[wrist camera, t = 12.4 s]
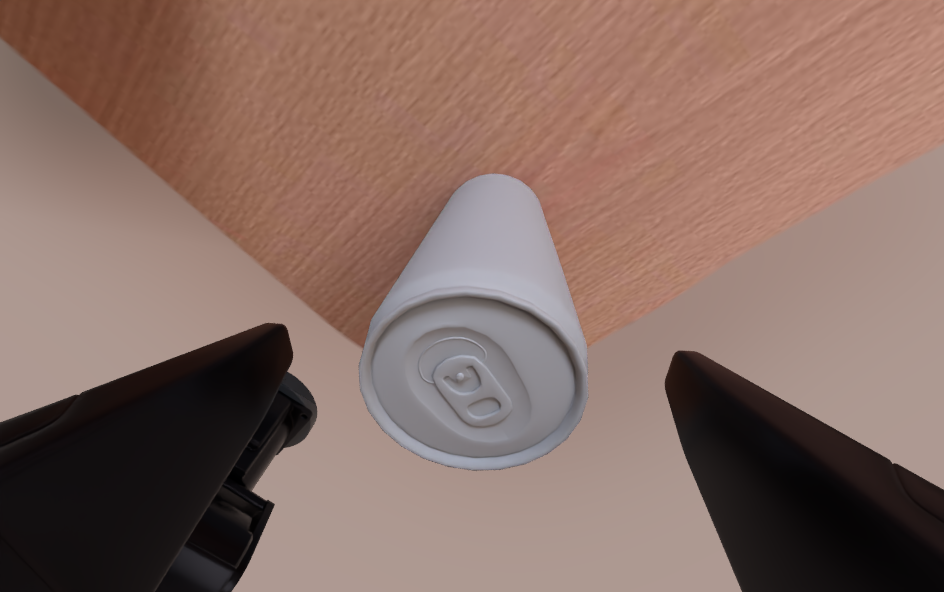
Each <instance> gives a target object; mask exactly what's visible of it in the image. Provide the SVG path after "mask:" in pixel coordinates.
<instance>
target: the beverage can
mask: <svg viewBox="0 0 944 592" xmlns="http://www.w3.org/2000/svg"><path fill="white" fill-rule="evenodd" d="M587 375H588V361H587V345H586V342H585V339H584V335H583V332H582V329H581V326H580V323H579V320H578V317H577V314H576V311H575V307H574V304H573V301H572V298H571V295H570V292H569V289H568V286H567V283H566V279H565V276H564V273H563V270H562V267H561V264H560V261H559V258H558V255H557V252H556V249H555V247H554V244H553V241H552V238H551V235H550V232H549V229H548V226H547V223H546V220H545V217H544V214H543V211H542V208H541V205H540V201H539V199H538V198H537V197H536V195H535V194H534V192H533V191H532V189H530V188H529V187H528V186H527V185H525V184H524V183H523V182H522V181H520V180H518V179H515V178H513V177H510V176H508V175H501V174H487V175H481V176H477V177H475V178H473V179H471V180H469V181H466V182H465V183H464V184H463V185H462V186H460V187H459V188H458V189H457V190H456V191H455V192H454V194H453V195H452V196H451V198H450V199H449V201H448V202H447V204H446V205H445V207H444V209H443V210H442V212H441V213H440V215H439V216H438V218H437V219H436V221H435V222H434V224H433V225H432V227H431V228H430V230H429V232H428V233H427V235H426V236H425V238H424V239H423V241H422V242H421V244H420V245H419V247H418V248H417V250H416V252H415V253H414V255H413V256H412V258H411V259H410V261H409V262H408V264H407V265H406V267H405V268H404V270H403V272H402V273H401V275H400V276H399V278H398V279H397V281H396V282H395V284H394V285H393V287H392V288H391V290H390V292H389V293H388V295H387V296H386V298H385V299H384V301H383V302H382V304H381V305H380V307H379V308H378V310H377V312H376V313H375V315H374V316H373V318H372V320H371V323H370V327H369V330H368V334H367V338H366V341H365V345H364V349H363V352H362V356H361V359H360V363H359V381H360V391H361V393H362V396H363V398H364V401H365V403H366V406H367V409H368V411H369V412H370V414H371V415H372V417H373V418H374V419H375V420H376V422H377V423H378V425H379V426H380V427H381V429H382V430H383V431H384V432H385V433H386V434H388V435H389V436H390V437H391V438H392V439H393V440H395V441H396V442H397V443H398V444H399V445H401V446H402V447H404V448H405V449H407V450H409V451H411V452H413V453H415V454H416V455H418V456H420V457H422V458H424V459H426V460H429V461H432V462H435V463H439V464H441V465H445V466H448V467H453V468H460V469H467V470H474V471H477V470H501V469H505V468H510V467H515V466H519V465H524V464H527V463H529V462H531V461H533V460H535V459H538V458H540V457H542V456H544V455H546V454H548V453H549V452H551V451H552V450H553V449H555V448H556V447H557V446H559V445H560V444H561V443H562V442H564V441H565V440H566V439H567V438H568V437H569V435H570V434H571V433H572V431H573V430H574V428H575V427H576V426H577V424H578V423H579V422H580V420H581V418H582V414H583V411H584V408H585V405H586V402H587V399H588V380H587V379H588V378H587Z"/></svg>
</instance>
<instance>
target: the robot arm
mask: <svg viewBox="0 0 944 592" xmlns="http://www.w3.org/2000/svg"><path fill="white" fill-rule="evenodd" d="M292 360H293V351H292V346H291V343H290V338H289V334H288V330H287V328H286V326H285V325H283V324H275V323H265V324H262V325H260V326H257V327H254V328H252V329H249V330H247V331H244V332H241V333H238V334H236V335H233V336H230V337H228V338H225V339H223V340H220V341H217V342H215V343H212V344H209V345H207V346H204V347H201V348H199V349H196V350H193V351H191V352H188V353H185V354H183V355H180V356H177V357H175V358H172V359H169V360H167V361H164V362H161V363H159V364H156V365H153V366H151V367H148V368H146V369H143V370H140V371H137V372H135V373H132V374H129V375H127V376H124V377H122V378H119V379H116V380H114V381H111V382H109V383H106V384H103V385H100V386H98V387H95V388H92V389H90V390H87V391H84V392H82V393H81V394H80V395H73V396H71V397H68V398H66V399H63V400H60V401H58V402H55V403H52V404H50V405H47V406H44V407H42V408H39V409H36V410H33V411H31V412H28V413H25V414H23V415H19V416H17V417H14V418H12V419H9V420H6V421H3V422H0V592H231V591H232V590H233V588H234V587H235V586H236V584H237V583H238V581H239V579H240V578H241V576H242V575H243V573H244V571H245V569H246V568H247V566H248V564H249V562H250V560H251V557H252V555H253V553H254V551H255V548H256V546H257V544H258V541H259V539H260V537H261V535H262V532H263V530H264V528H265V526H266V523H267V521H268V519H269V517H270V514H271V512H272V509H273V508H274V505H275V504H274V503H272V502H270V501H269V500H267V501H266V500H264V499H263V498H261V497H260V496H258V495H257V494H255V493H253V492H252V490H253V488H254V487H255V485H256V484H257V482H258V481H259V479H260V478H261V476H262V475H263V473H264V472H265V470H266V469H267V467H268V466H269V464H270V463H271V461H272V460H273V458H274V457H275V455H278V454H279V453H280V452H281V451H282V449H283V448H284V447H285V446H286V445H287V444H288V443H289V442H290V441H291V440H292V439H293V438H294V437H295V435H296V434H297V433H298V432H299V431H300V430H301V429H302V428H303V427H304V426H305V425H306V424H307V423H308V421H309V420H310V419H311V417H312V416H313V413H312V411H311V410H310V409H308V408H307V407H305V406H303V405H302V404H300V403H299V402H297V401H295V400H294V399H292V398H291V397H289V396H287V395H286V394H284V393H283V392H281V391H279V390H278V389H279V387H280V385H281V383H282V381H283V379H284V377H285V375H286V373H287V371H288V369H289V367H290V365H291V363H292ZM665 390H666V394H667V397H668V401H669V404H670V408H671V411H672V415H673V418H674V421H675V425H676V428H677V431H678V435H679V438H680V442H681V444H682V447H683V451H684V454H685V456H686V459H687V461H688V464H689V466H690V469H691V471H692V473H693V476H694V478H695V480H696V483H697V485H698V488H699V490H700V493H701V495H702V497H703V500H704V502H705V504H706V507H707V509H708V512H709V514H710V516H711V519H712V521H713V524H714V526H715V528H716V531H717V533H718V535H719V538H720V540H721V543H722V545H723V547H724V549H725V552H726V554H727V557H728V559H729V561H730V564H731V566H732V569H733V571H734V574H735V576H736V578H737V581H738V583H739V586H740V588H741V590H742V592H944V490H943V489H941V488H940V487H938V486H936V485H934V484H932V483H930V482H928V481H927V480H925V479H923V478H921V477H919V476H918V475H916V474H914V473H912V472H911V471H909V470H907V469H905V468H904V467H902V466H900V465H898V464H895V463H894V464H892V462H891V461H890V460H889V459H887V458H886V457H883V456H882V455H880V454H878V453H877V452H875V451H873V450H871V449H870V448H868V447H866V446H864V445H862V444H861V443H858V442H857V441H855V440H853V439H852V438H850V437H848V436H846V435H845V434H843V433H841V432H839V431H837V430H836V429H834V428H832V427H830V426H828V425H827V424H824V423H823V422H821V421H819V420H818V419H816V418H814V417H812V416H811V415H809V414H807V413H805V412H804V411H802V410H800V409H798V408H796V407H795V406H793V405H791V404H789V403H787V402H785V401H784V400H782V399H780V398H779V397H777V396H775V395H773V394H771V393H770V392H768V391H766V390H764V389H762V388H761V387H759V386H757V385H755V384H754V383H752V382H750V381H748V380H746V379H745V378H743V377H741V376H739V375H738V374H736V373H734V372H732V371H730V370H729V369H727V368H725V367H723V366H722V365H720V364H718V363H716V362H714V361H713V360H711V359H709V358H707V357H706V356H704V355H702V354H700V353H698V352H694V351H677V352H676V353H675V354H674V356H673V358H672V361H671V364H670V367H669V370H668V373H667V376H666V379H665Z"/></svg>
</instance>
